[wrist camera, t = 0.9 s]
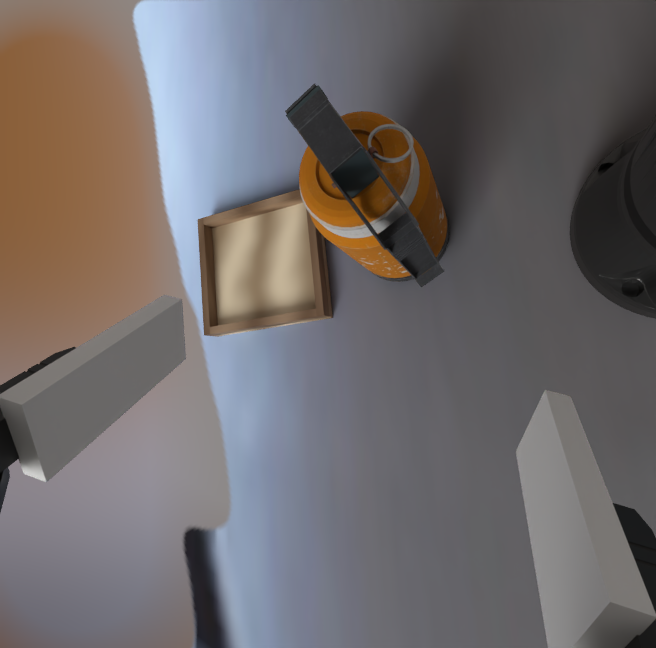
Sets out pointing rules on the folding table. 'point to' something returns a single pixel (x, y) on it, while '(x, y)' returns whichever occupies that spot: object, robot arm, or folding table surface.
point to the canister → (370, 190)
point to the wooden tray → (262, 267)
